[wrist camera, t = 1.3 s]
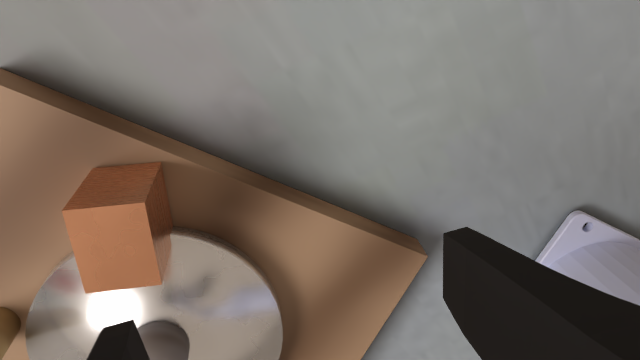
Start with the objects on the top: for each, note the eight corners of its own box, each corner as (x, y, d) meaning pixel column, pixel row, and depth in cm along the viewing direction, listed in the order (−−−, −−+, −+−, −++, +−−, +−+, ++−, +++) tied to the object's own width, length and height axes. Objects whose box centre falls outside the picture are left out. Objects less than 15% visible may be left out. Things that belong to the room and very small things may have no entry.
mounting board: (417, 239, 23) (447, 288, 20) (277, 459, 27) (281, 530, 24) (-2, 67, 18) (-61, 93, 14) (-92, 375, 22) (-154, 451, 19)
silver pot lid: (288, 399, 24) (296, 464, 21) (68, 431, 23) (40, 506, 19) (265, 152, 19) (270, 189, 16) (-21, 178, 18) (-76, 224, 14)
